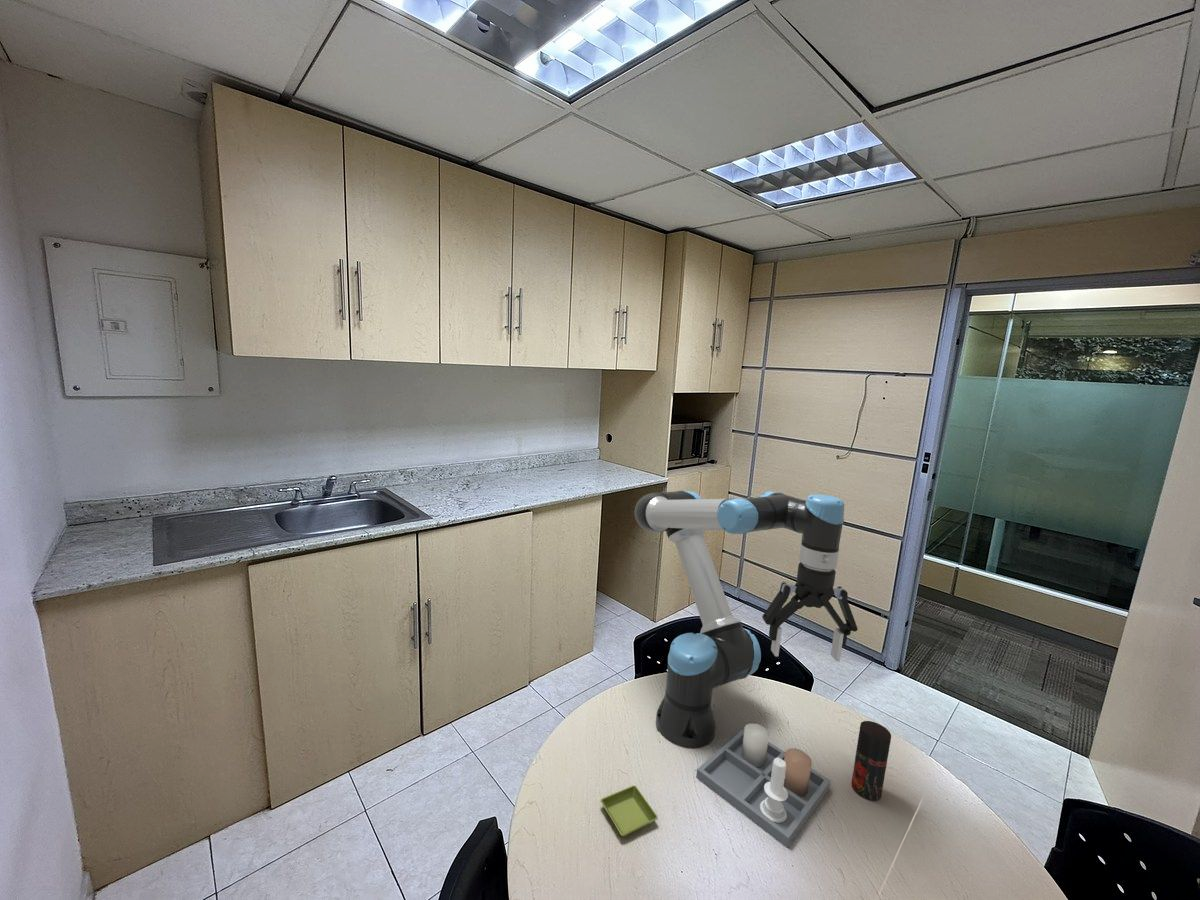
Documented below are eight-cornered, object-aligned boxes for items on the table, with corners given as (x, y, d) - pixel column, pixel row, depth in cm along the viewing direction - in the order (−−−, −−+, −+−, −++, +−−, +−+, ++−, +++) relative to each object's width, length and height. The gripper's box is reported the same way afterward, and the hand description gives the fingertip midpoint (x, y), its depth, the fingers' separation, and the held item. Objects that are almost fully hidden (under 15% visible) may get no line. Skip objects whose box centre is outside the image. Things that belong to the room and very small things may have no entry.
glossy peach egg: (776, 784, 105) (780, 756, 104) (787, 771, 109) (791, 744, 108) (801, 801, 101) (805, 771, 100) (811, 787, 105) (816, 759, 104)
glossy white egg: (736, 757, 112) (740, 730, 111) (748, 746, 116) (751, 720, 115) (758, 771, 108) (761, 744, 107) (769, 759, 112) (773, 733, 111)
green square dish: (620, 845, 89) (621, 835, 89) (598, 808, 97) (599, 799, 96) (657, 827, 93) (658, 817, 93) (634, 792, 101) (634, 784, 101)
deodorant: (885, 805, 102) (896, 742, 100) (855, 799, 103) (865, 737, 101) (875, 783, 107) (885, 723, 106) (847, 777, 109) (856, 718, 107)
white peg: (756, 799, 100) (762, 748, 99) (781, 801, 100) (788, 750, 99) (764, 822, 95) (771, 769, 94) (790, 824, 95) (798, 771, 94)
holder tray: (696, 779, 105) (697, 769, 105) (743, 735, 120) (745, 727, 119) (786, 849, 90) (788, 838, 90) (829, 790, 105) (830, 780, 104)
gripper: (765, 567, 100) (754, 660, 102) (884, 576, 99) (869, 669, 102) (755, 555, 107) (744, 642, 110) (865, 563, 107) (852, 650, 109)
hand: (804, 655), depth 106 cm, fingers open, 13 cm apart
